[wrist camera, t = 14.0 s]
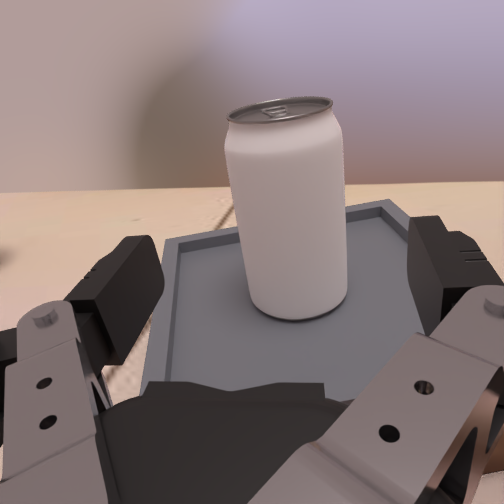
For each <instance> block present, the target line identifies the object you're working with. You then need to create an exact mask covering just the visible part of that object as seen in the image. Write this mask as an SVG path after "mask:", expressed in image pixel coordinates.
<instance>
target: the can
mask: <svg viewBox="0 0 504 504" xmlns="http://www.w3.org/2000/svg"><path fill="white" fill-rule="evenodd" d="M332 105H333V101H332V100H331V99H329V98H325V97H293V98H284V99H277V100H270V101H265V102H260V103H255V104H251V105H248V106H244V107H241V108H238V109H236V110H233V111H232V112H230V113H229V114H228V115H227V120H228V121H229V129H228V133H227V137H226V140H225V145H224V147H225V156H226V162H227V169H228V174H229V180H230V186H231V192H232V198H233V203H234V209H235V215H236V220H237V226H238V231H239V237H240V243H241V248H242V254H243V259H244V265H245V270H246V276H247V281H248V286H249V291H250V296H251V299H252V302H253V303H254V305H255V306H256V307H257V308H258V309H260V310H261V311H263V312H264V313H266V314H267V315H269V316H272V317H274V318H277V319H281V320H287V321H304V320H309V319H313V318H316V317H319V316H322V315H324V314H326V313H328V312H330V311H332V310H333V309H334V308H335V307H336V306H337V305H338V304H340V303H341V301H342V300H343V299H344V297H345V295H346V293H347V247H346V216H345V187H344V162H343V161H344V160H343V140H342V131H341V128H340V126H339V124H338V122H337V120H336V118H335V116H334V114H333V112H332V108H331V107H332Z"/></svg>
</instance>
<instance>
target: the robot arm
mask: <svg viewBox="0 0 504 504" xmlns="http://www.w3.org/2000/svg"><path fill="white" fill-rule="evenodd" d="M407 277H408V283H409V287H410V290H411V293H412V296H413V299H414V302H415V305H416V308H417V311H418V314H419V317H420V321H421V324H422V327H423V330H424V333H425V335H424V334H422V333H419V332H416V333H414V334H413V335H412V336H411V337H410V338H409V339H408V340H407V341H406V342H405V343H404V344H403V346H402V347H401V348H400V349H399V350H398V351H397V352H396V353H395V355H394V356H393V357H392V358H391V359H390V360H389V361H388V362H387V364H386V365H385V366H384V367H383V368H382V369H381V370H380V371H379V373H378V374H377V375H376V376H375V377H374V378H373V379H372V381H371V382H370V383H369V384H368V385H367V386H366V387H365V388H364V390H363V391H362V392H361V393H360V394H359V395H358V396H357V397H356V399H355V400H354V401H353V402H352V403H351V404H350V405H347V404H344V403H342V402H339V401H336V400H333V399H329V398H325V389H324V383H295V382H277V383H272V384H267V385H262V386H257V387H252V388H247V389H242V390H236V391H225V390H221V389H217V388H213V387H209V386H205V385H201V384H197V383H193V382H187V381H149V382H148V384H147V386H146V389H145V391H144V393H143V395H141V396H137V397H134V398H131V399H128V400H125V401H123V402H120V403H118V404H116V405H114V406H113V403H112V400H111V397H110V393H109V390H108V387H107V383H106V380H105V377H104V375H103V373H102V371H101V370H102V369H103V367H104V365H123V363H124V361H125V359H126V358H127V356H128V354H129V352H130V351H131V349H132V347H133V345H134V344H135V342H136V340H137V338H138V336H139V335H140V333H141V331H142V329H143V328H144V326H145V324H146V322H147V321H148V319H149V317H150V315H151V314H152V312H153V310H154V308H155V306H156V305H157V303H158V301H159V299H160V298H161V296H162V294H163V291H164V286H165V280H164V274H163V271H162V268H161V264H160V261H159V258H158V255H157V251H156V248H155V245H154V242H153V239H152V238H151V237H150V236H149V235H141V236H127V237H125V238H124V239H123V240H122V241H121V242H120V243H119V244H118V246H117V247H116V248H115V249H114V250H113V251H112V252H111V253H109V254H108V255H106V256H105V257H103V258H102V259H100V260H99V261H98V262H97V263H96V264H95V265H94V266H93V267H92V269H91V271H89V272H88V273H87V274H86V275H85V276H84V279H82V280H81V281H80V282H79V283H78V284H77V285H76V286H75V287H74V289H73V290H72V291H71V292H70V293H69V294H68V295H67V296H66V297H65V298H64V300H63V301H61V300H60V301H52V302H48V303H45V304H42V305H40V306H38V307H36V308H34V309H32V310H30V311H29V312H28V313H26V314H25V315H24V316H23V317H22V318H21V319H20V320H19V322H18V324H17V328H12V329H8V330H4V331H0V447H1V446H2V444H3V474H2V479H1V481H0V504H471V502H472V500H473V497H474V495H475V493H476V490H477V487H478V484H479V481H480V479H481V476H482V473H483V471H484V469H485V467H486V465H487V463H488V461H489V459H490V457H491V455H492V453H493V451H494V449H495V447H496V446H497V444H498V442H499V440H500V438H501V436H502V434H503V432H504V283H503V282H502V280H501V279H500V277H499V276H498V274H497V273H496V271H495V270H494V268H493V267H492V265H491V264H490V263H489V261H487V258H486V257H485V255H484V254H483V252H481V249H480V248H479V246H478V245H477V243H476V242H475V240H474V239H472V238H471V237H469V236H467V235H465V234H464V233H462V232H460V231H451V232H448V231H447V229H446V227H445V225H444V224H443V222H442V220H441V219H440V217H439V216H438V215H436V216H422V217H410V219H409V226H408V248H407Z"/></svg>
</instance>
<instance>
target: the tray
mask: <svg viewBox="0 0 504 504" xmlns="http://www.w3.org/2000/svg"><path fill="white" fill-rule="evenodd" d="M345 216H346V247H347V293H346V295H345V297H344V299H343V300H342V301H341V303H340V304H338V305H337V306H336V307H335V308H334V309H333V310H332V311H330V312H328V313H326V314H324V315H322V316H319V317H316V318H313V319H309V320H304V321H287V320H281V319H277V318H274V317H272V316H269V315H267V314H266V313H264V312H263V311H261V310H260V309H258V308H257V307H256V306H255V305H254V303H253V302H252V299H251V296H250V291H249V286H248V281H247V276H246V270H245V265H244V259H243V254H242V248H241V243H240V237H239V231H238V226H237V227H231V228H226V229H220V230H214V231H209V232H203V233H198V234H192V235H187V236H181V237H176V238H170V239H165V245H164V251H163V257H162V263H161V268H162V271H163V274H164V280H165V286H164V291H163V294H162V296H161V298H160V299H159V301H158V303H157V305H156V306H155V308H154V311H153V316H152V322H151V328H150V334H149V340H148V346H147V352H146V358H145V364H144V370H143V376H142V382H141V388H140V394H139V396H141V395H143V393H144V391H145V389H146V386H147V384H148V382H149V381H187V382H193V383H197V384H201V385H205V386H209V387H213V388H217V389H221V390H225V391H236V390H242V389H247V388H252V387H257V386H262V385H267V384H272V383H277V382H295V383H324V389H325V398H329V399H333V400H336V401H339V402H342V403H344V404H347V405H350V404H351V403H352V402H353V401H354V400H355V399H356V397H357V396H358V395H359V394H360V393H361V392H362V391H363V390H364V388H365V387H366V386H367V385H368V384H369V383H370V382H371V381H372V379H373V378H374V377H375V376H376V375H377V374H378V373H379V371H380V370H381V369H382V368H383V367H384V366H385V365H386V364H387V362H388V361H389V360H390V359H391V358H392V357H393V356H394V355H395V353H396V352H397V351H398V350H399V349H400V348H401V347H402V346H403V344H404V343H405V342H406V341H407V340H408V339H409V338H410V337H411V336H412V335H413V334H414V333H416V332H419V333H422V334H424V335H425V333H424V330H423V327H422V324H421V321H420V317H419V314H418V311H417V308H416V305H415V302H414V299H413V296H412V293H411V290H410V287H409V283H408V277H407V248H408V226H409V219H410V217H409V216H408V215H407V214H406V213H405V212H404V211H402V210H401V209H400V208H399V207H398V206H397V205H395V204H394V203H393V202H392V201H391V200H390V199H385V200H380V201H374V202H369V203H363V204H358V205H352V206H347V207H345Z"/></svg>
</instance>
